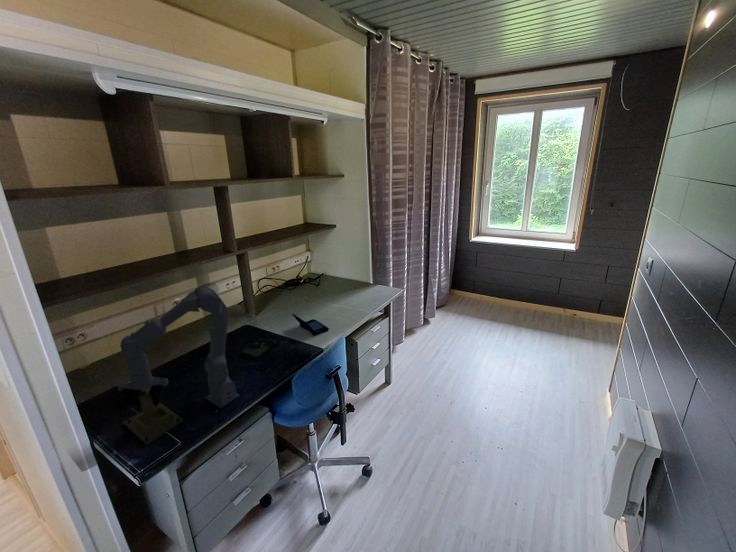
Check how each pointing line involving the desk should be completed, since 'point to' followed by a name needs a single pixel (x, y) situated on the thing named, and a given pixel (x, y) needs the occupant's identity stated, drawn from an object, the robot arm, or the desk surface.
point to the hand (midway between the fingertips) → (149, 404)
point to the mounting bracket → (152, 423)
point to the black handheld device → (312, 326)
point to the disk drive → (260, 348)
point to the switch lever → (147, 403)
